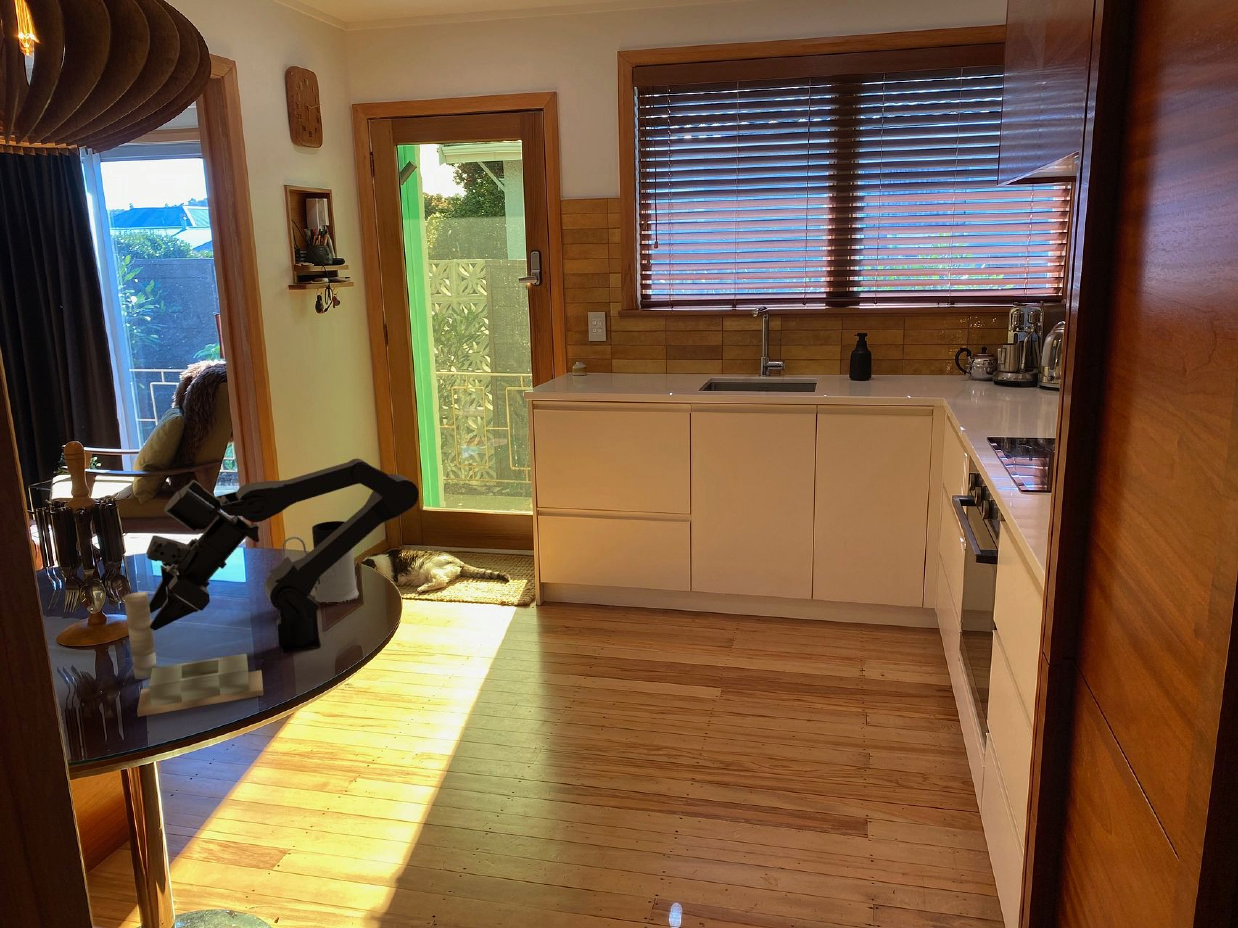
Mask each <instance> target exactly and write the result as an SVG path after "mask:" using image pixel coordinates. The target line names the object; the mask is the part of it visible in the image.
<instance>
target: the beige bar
mask: <svg viewBox="0 0 1238 928" xmlns="http://www.w3.org/2000/svg"><path fill="white" fill-rule="evenodd" d="M123 599H124V606H125V607H124V608H125V614H126V622H127V631H128V636H129V643H130V653H131V659H132V660H131V661H132V667H133V675H134V679H137V680H146V679H150V678H151V673H152V668H157V667H158V663H157V655H156V649H155V647H156V646H155V639H154V633H153V631H154V630H153V629H151V628H150V625H151V623H152V615H151V613H150V607H149V603H150V600H149V594H148V592H145V591H138V592H132V593H129V594H126V595H125V596H124V598H123Z"/></svg>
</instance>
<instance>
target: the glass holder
mask: <svg viewBox="0 0 1238 928" xmlns="http://www.w3.org/2000/svg"><path fill="white" fill-rule="evenodd" d="M345 522H346V521H345V520H343V521H342V520H333V521H332V520H331V521H324V522H319V523H317V524H314V525H312V527H311V530H312V532H311V533H312V543H313V549H314V548H315V547H317V546H318V545H319V544H320V543H321V542H322V541H324V540H325V539H326V538H327V537H328V536H329V535H331V534H332V533H333V532H334V531H335V530H336V529H338V528H339V527H340V526H341V525H342V524H343V523H345ZM293 539H295V540H299V542H301V544H302V547H303V552H304V554H305V556H306V555H307V554H308V553H309V552H307V549H306V544H305V542H304V540H303V539H302V538H301V537H298V536H290V537H288V538H287V539H285V540H284V541H283V543H282V547H281V553H282V557H283V560H284V559H285V558H286V554H285V546H286V543H287V542H289V541H291V540H293ZM354 558H355V556H354V547H353V548H352V549H351V550H350V551H349V552H348V553H347V554H345V555H344V556H343V557H342V558H341V559H340V560H338V561H337V562H336V563H335V564H334V565H333V566H332V567H330V568H329V569H328V570H327V571H326V572H325V573H323V574H322V575H321V576H320V578H319V579H318V581H317V583H316V585H315V586H314V588H313V589H314V591H315V592H316V593H315V596H314V600H315V601H316V602H317V603H318V602H319V603H322V602H327V603H326V604H329V603H328V602H338V603H344V602H347V601H346V600H348V601H351V600H354V599H356V598H357V597H358V596H359V594H360V593H359V591H358V589H357V586H356V585H357V583H356V572H355V571H356V570H355V560H354ZM343 601H344V602H343Z"/></svg>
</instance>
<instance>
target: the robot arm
mask: <svg viewBox="0 0 1238 928" xmlns="http://www.w3.org/2000/svg"><path fill="white" fill-rule="evenodd" d="M355 485H362V486H363V487H364V486H365V488H368V489H370V490H372V492H371V494H370V495H369V496H368V499H366V502H365V504H364V505H363V506H362V507H361V508H360V509H358V510H357V511H356V512H355V513H353V515H352V516H351V517H349V518H348V519H347V520H346V521H344V522H345V523H343V524H342V525H341V526H340V527H339V528H338V529H336V530H335V531H334V532H333V533H332V534H331V535H329V536H328V537H327V538H326V539H325V540H324V541H322V542H321V543H320V544H319V545H318V546H317V547H315V548H314V547H313V549H312V550H311V551H310V552H307V553H308V554H307V555H306V554H305V556H303V557H302V558H300V559H299V558H298V559H296V560H294V561H292V560H291V558H290V557H289V556H285V559H284V558H283V560H282V561H281V563H280V564H278V566H276V567H275V568H271V569H269V571H268V572H269V573H270V575H269V576H268V577H267V578H266V580H265V582H264V592H265V594H266V596H267V597H268V599H269V602H270V603H271V604H272V606H273V607H274V608H276V609H277V610H278V613H279V619H277V620H276V628H277V639H278V646H279V647H280V648H281V647H282V648H281V650H282V653H289V652H296V651H303V650H310V649H316V648H321V646H322V643H321V639H320V632H319V621H318V620H319V619H318V609H319V604H318V602H317V601H316V600H315V597H313V595H312V594H311V593H312V592H313V590H314V589H315V588H314V586H316V583H317V581H318V579H319V578H320V576H321V575H322V574H323V573H325V572H326V571H327V570H328V569H329V568H330V567H332V566H333V565H334V564H335V563H336V562H337V561H338V560H340V559H341V558H342V557H343V556H344V555H345V554H347V553H348V552H349V551H350V550H351V549H352V548H353V549H354V547H356V546H358V544H359V543H360V542H362V541H363V540H364V539H365V538H366V537H368V536H369V535H370V534H371V533H372V532H374V530H375V529H377V528H378V527H379V526H380V525H381V524H383V523H387V522H388V521H391V520H393V519H396V518H398V517H400V516H401V515H403V514H404V513H407V512H408V511H409V510H411V509H412V508H414V507H415V506H416V504H417V503H418V501H419V495H420V493H419V489H418V487H417V485H416V484H415V483H414V482H412V481H411V480H409V479H408V478H406V476H403V475H401V474H399V473H398V474H397V473H396V474H395V473H391V474H388V473H386V472H384V471H382V470H380V469H379V468H376V467H374V466H373V465H370V464H369V463H367V461H365V460H363V459H361V458H353V459H350V460H348V461H347V462H343V463H341V464H337V465H333V466H330V467H327V468H324V469H319V470H316V471H313V472H310V473H306V474H303V475H300V476H296V477H292V478H289V479H285V480H284V479H283V480H265V481H257V482H250V483H246V484H243V485H241V486H239V488H238V489H237V491H233V492H228V493H225V494H221V495H217V496H215V495H214V494H212V493H211V492H210V491H208V490H207V489H205V488H204V487H203V486H202V485H201V484H200V483H199V482H197V480H195V479H191V481H190V482H189V483H188V484H186V485H185V486H184V487H182V488H181V489H180V490H177V491H176V492H175V493H174V494H173V496H172V497H170V499H169V501H168V502H167V504H166V505H165V506H164V509H163V512H165V513H166V514H168V516H170V517H171V518H173V519H175V520H177V521H178V522H179V523H180V524H182V525H183V526H185V527H187V529H189V530H190V531H193V532H194V531H197V530H199V531H202V530H203V531H204V530H205V529H206V530H205V531H204V532H203V533H202V534H201V535H200V537H199V538H198V539H197V538H196V537H195V538H192V539H191V540H190V541H189V542H188V543H184V542H181V541H179V540H175V539H170V538H166V537H163V536H160V535H152V537H151V540H150V542H149V545H148V548H147V550H146V553H145V554H146V558H147V559H148V560H150V561H154V562H161V565H160V573H161V580H160V581H159V582H160V583H159V584H158V585H157V586H158V587H156V590H155V592H154V594H153V595H152V597H151V599H150V600H149V607H150V614H153V613H154V612H156V611H158V610H159V611H158V612H157V614H156V615H155V617H154V618H153V620H151V625H150V628H151V629H152V631H158V630H159V629H161V628H164V627H165V626H168V625H169V624H171V623H173V622H176V621H178V620H180V619H182V618H185V617H186V616H189V615H191V614H193V613H197V612H200V611H201V612H203V610H204V609H206V608H207V606H208V605H209V604H210V602H211V599H210V598H211V597H210V594H209V590H208V586H209V585H210V584H211V583H210V581H209V580H210V579H211V578H212V577H213V576H214V574H216V572H217V571H218V570H219V569H224V568H225V567H226V566H227V562H226V561H227V559H229V557H230V556H231V555H232V554H233V553H234V552H235V550H237V548H238V547H239V546H240V545H241V544H242V543H243V541H244V540H246V538H247V537H248V538H249V539H250V540H251V541H253V542H255V543H259V542H260V538H259V529H260V527H259V525H258V524H257V523H260V522H263V521H264V522H265V521H266V520H268V519H269V518H272V517H274V516H276V515H278V514H280V513H282V512H283V511H285V510H286V509H288V508H289V507H291V505H292V506H293V505H294V504H296V503H299V502H302V501H303V502H304V501H306V500H309V499H312V498H315V497H319V496H322V495H325V494H329V493H332V492H336V491H338V490H342V489H345V488H348V487H352V486H355ZM217 516H218V517H217ZM241 517H242V518H243V519H244V520H243V519H242V518H241ZM245 520H247V521H249V522H251V523H253V524H249V523H248V522H246V521H245Z"/></svg>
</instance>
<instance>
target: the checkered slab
mask: <svg viewBox="0 0 1238 928" xmlns="http://www.w3.org/2000/svg"><path fill="white" fill-rule="evenodd" d="M262 673H263V672H262V670H261V669H259V670H253V671H249V665H248V655H247V653H243V654H242V653H241V654H235V655H229V656H228V655H227V656H224V657H223V656H222V657H215V658H209V659H202V660H198V661H197V660H196V661H189V662H184V663H182V662H181V663H176V664H172V665H171V664H170V665H165V666H159V667H158V666H157V668H152V673H151V678H149V684H148V687H149V688H148V687H147V688H143V689H140V695H139V700H138V705H137V709H136V711H137V712H136V713H137V717H145V716H151V715H157V714H162V713H168V712H174V711H180V710H186V709H190V708H198V707H203V706H208V705H209V706H210V705H215V704H220V703H226V702H232V701H238V700H245V699H250V698H255V697H256V698H257V697H262V696H264V686H263V674H262Z"/></svg>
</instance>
